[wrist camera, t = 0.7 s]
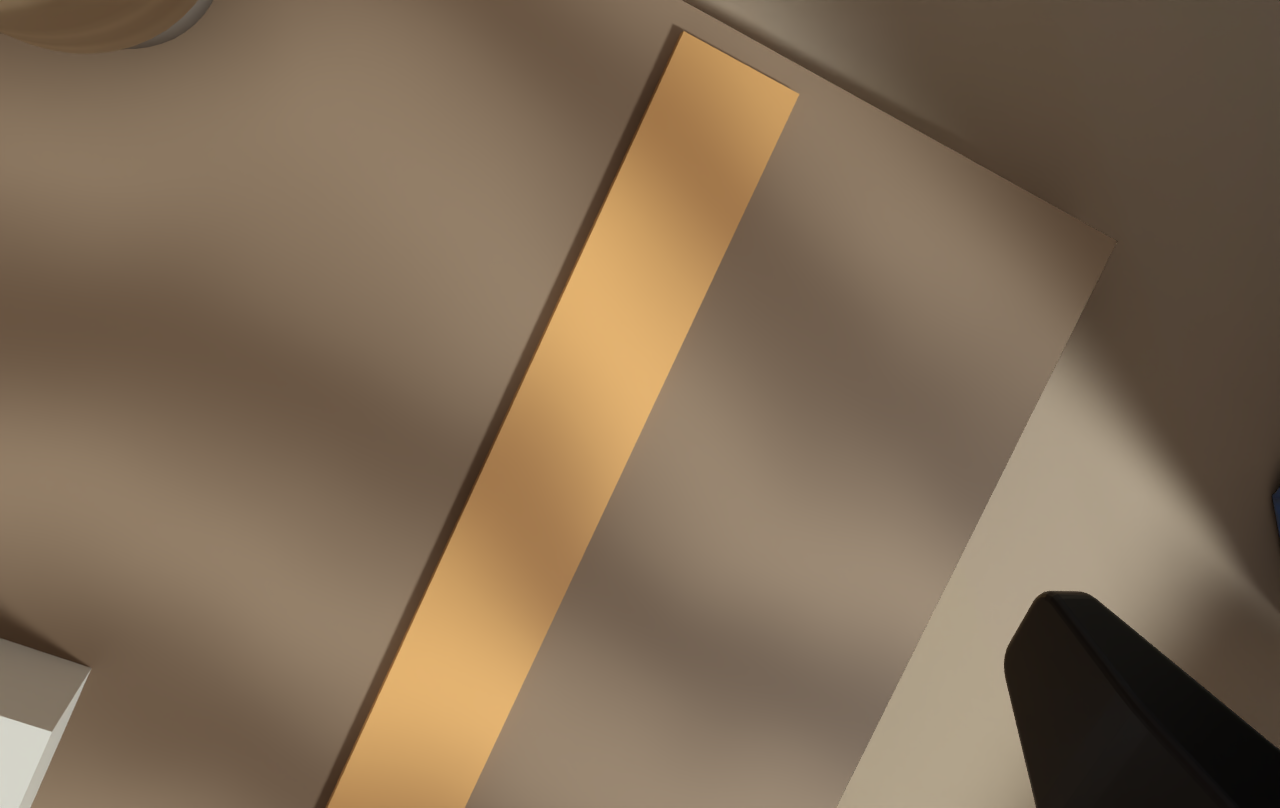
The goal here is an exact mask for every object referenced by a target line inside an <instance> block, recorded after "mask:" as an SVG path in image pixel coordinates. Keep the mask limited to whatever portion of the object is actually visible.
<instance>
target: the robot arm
mask: <svg viewBox="0 0 1280 808" xmlns="http://www.w3.org/2000/svg"><path fill="white" fill-rule="evenodd" d="M1004 672H1005V678H1006V683H1007V687H1008V691H1009V695H1010V699H1011V704H1012V708H1013V712H1014V716H1015V720H1016V725H1017V729H1018V733H1019V737H1020V741H1021V746H1022V750H1023V754H1024V758H1025V762H1026V767H1027V771H1028V775H1029V779H1030V783H1031V788H1032V792H1033V796H1034V800H1035V804H1036V808H1280V750H1279V749H1278V748H1276V747H1275V746H1274V745H1273V744H1272V743H1270V742H1269V741H1268V740H1267V739H1266V738H1264V737H1263V736H1262V735H1261V734H1260V733H1258V732H1257V731H1256V730H1255V729H1253V728H1252V727H1251V726H1250V725H1249V724H1247V723H1246V722H1245V721H1244V720H1243V719H1241V718H1240V717H1239V716H1238V715H1236V714H1235V713H1234V712H1233V711H1232V710H1230V709H1229V708H1228V707H1227V706H1226V705H1224V704H1223V703H1222V702H1221V701H1219V700H1218V699H1217V698H1216V697H1215V696H1213V695H1212V694H1211V693H1210V692H1209V691H1207V690H1206V689H1205V688H1204V687H1203V686H1201V685H1200V684H1199V683H1198V682H1196V681H1195V680H1194V679H1193V678H1192V677H1190V676H1189V675H1188V674H1187V673H1186V672H1184V671H1183V670H1182V669H1181V668H1179V667H1178V666H1177V665H1176V664H1175V663H1173V662H1172V661H1171V660H1170V659H1169V658H1167V657H1166V656H1165V655H1164V654H1162V653H1161V652H1160V651H1159V650H1158V649H1156V648H1155V647H1154V646H1153V645H1152V644H1150V643H1149V642H1148V641H1147V640H1146V639H1144V638H1143V637H1142V636H1141V635H1139V634H1138V633H1137V632H1136V631H1135V630H1133V629H1132V628H1131V627H1130V626H1129V625H1127V624H1126V623H1125V622H1124V621H1122V620H1121V619H1120V618H1119V617H1118V616H1116V615H1115V614H1114V613H1113V612H1112V611H1110V610H1109V609H1108V608H1107V607H1105V606H1104V605H1103V604H1102V603H1101V602H1099V601H1098V600H1097V599H1096V598H1094V597H1093V596H1091V595H1089V594H1087V593H1084V592H1078V591H1047V592H1043V593H1042V594H1040V595H1039V596H1038V597H1036V599H1035V600H1034V601H1033V603H1032V605H1031V607H1030V608H1029V610H1028V612H1027V614H1026V615H1025V617H1024V619H1023V621H1022V622H1021V624H1020V626H1019V627H1018V629H1017V631H1016V633H1015V634H1014V636H1013V638H1012V640H1011V641H1010V643H1009V645H1008V647H1007V650H1006V654H1005V659H1004Z"/></svg>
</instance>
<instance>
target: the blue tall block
mask: <svg viewBox="0 0 1280 808" xmlns="http://www.w3.org/2000/svg"><path fill="white" fill-rule="evenodd" d="M1272 498H1273V504H1274V509H1275V515H1276V520H1277V526H1278V531H1279V537H1280V486H1279V488H1278V490H1277V491H1276V493H1274V494H1273V495H1272Z"/></svg>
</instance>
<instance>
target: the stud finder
mask: <svg viewBox="0 0 1280 808" xmlns="http://www.w3.org/2000/svg"><path fill="white" fill-rule="evenodd" d="M90 670H91V668H90V667H87V666H84V665H81V664H78V663H75V662H72V661H69V660H66V659H62V658H59V657H56V656H53V655H50V654H47V653H44V652H41V651H38V650H35V649H32V648H29V647H26V646H23V645H20V644H17V643H14V642H11V641H8V640H5V639H2V638H0V808H31V805H32V803H33V801H34V798H35V796H36V794H37V792H38V789H39V787H40V785H41V782H42V780H43V778H44V776H45V773H46V771H47V769H48V766H49V764H50V762H51V759H52V757H53V755H54V753H55V750H56V748H57V746H58V743H59V741H60V739H61V737H62V734H63V732H64V730H65V727H66V725H67V723H68V721H69V718H70V716H71V714H72V711H73V709H74V707H75V705H76V702H77V700H78V698H79V695H80V693H81V691H82V689H83V686H84V684H85V682H86V679H87V677H88V675H89V673H90Z"/></svg>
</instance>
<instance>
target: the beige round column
mask: <svg viewBox="0 0 1280 808" xmlns="http://www.w3.org/2000/svg"><path fill="white" fill-rule="evenodd" d="M212 2H213V0H0V33H3V34H5V35H7V36H10V37H12V38H15V39H17V40H20V41H23V42H25V43H28V44H30V45H33V46H37V47H41V48H44V49H48V50H52V51H59V52H66V53H76V54H95V53H104V52H113V51H117V50H121V49H138V48H147V47H151V46H155V45H159V44H162V43H165V42H167V41H170V40H172V39H174V38H176V37H178V36H179V35H181V34H183V33H185V32H186V31H187V30H188V29H190V28H191V27H192V26H193V25H195V24H196V23H197V22H198V21H199V19H200V18H201V17H202V16H203V15H204V14H205V12H206V11H207V10H208V8H209V7H210V5H211V4H212Z"/></svg>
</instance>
